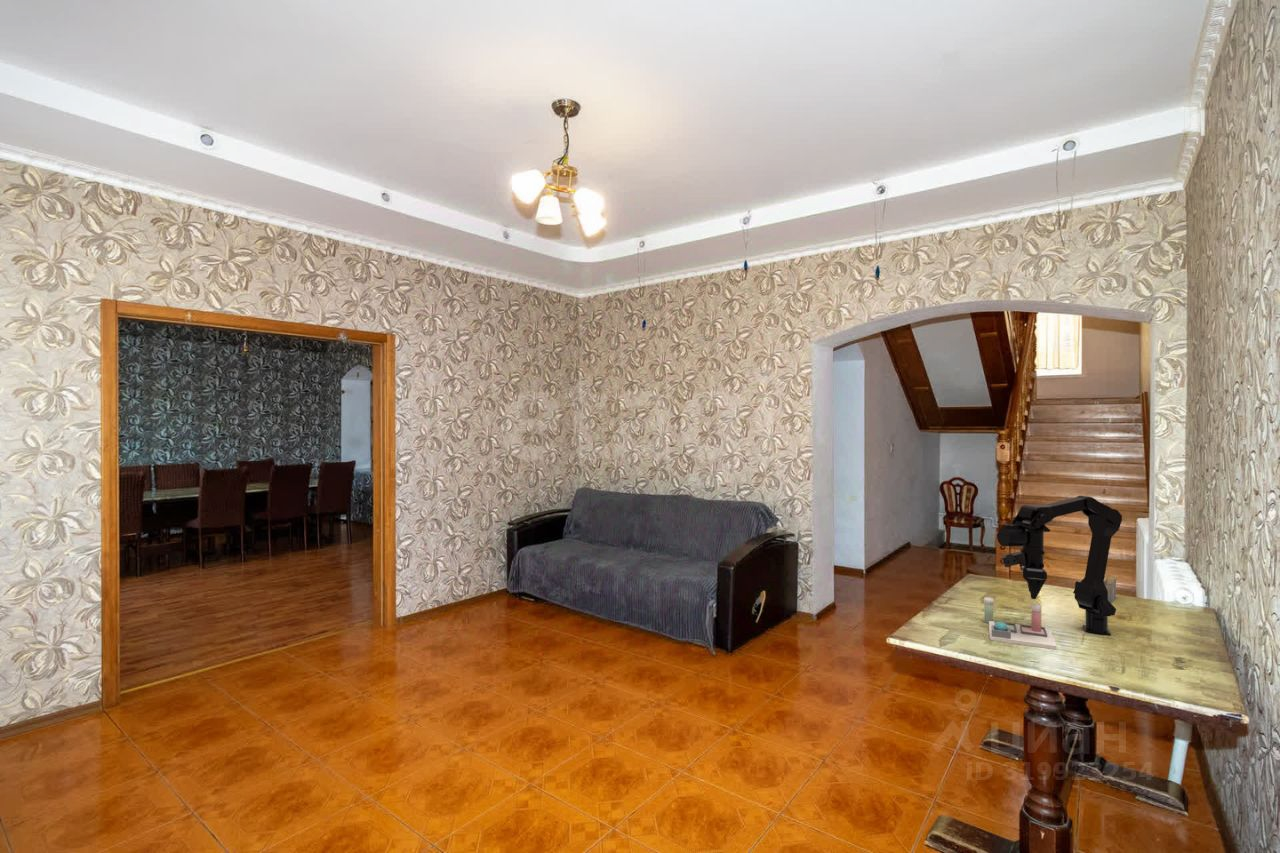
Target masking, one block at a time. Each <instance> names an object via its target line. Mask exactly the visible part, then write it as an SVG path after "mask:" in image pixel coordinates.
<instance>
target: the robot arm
mask: <svg viewBox="0 0 1280 853" xmlns="http://www.w3.org/2000/svg"><path fill="white" fill-rule="evenodd" d="M1078 512H1081V513H1082V514H1083V515H1084V516H1086V517H1087V518H1088V520H1087V524H1088V527H1089V529H1090V531H1091V539H1090V544H1089V545H1090V546H1089V550H1088V556H1087V564H1086V568H1085V573H1084V577H1083V579H1081V580H1080V581H1078V580H1077V581H1075V583H1074V590H1073V592H1072V593H1073V594H1074V600H1075V601H1076V602H1077V605H1078V608H1079V609H1081V610H1085V624H1083V625H1082V628H1083V630H1084V632H1086V633H1091V634H1097V635H1098V634H1100V635H1106V636H1111V635H1112V634H1111V632H1110V629H1109V628H1108V627H1109V626H1108V625H1109V617H1112V616H1115V615H1116V612H1117V608H1116V607H1115V606H1114V605H1113V603H1110V602H1109V601H1108V591H1107V588H1106V586H1105V584H1104V580H1105V578H1106V574H1105V573H1106V572H1107V571H1106V570H1107V565H1108V559H1109V554H1110V553H1109V552H1110V548H1111V543H1112V537H1114V536H1115V534H1117V532H1118V531H1119V530H1120V526H1121V524H1122V520H1123V515H1122V514H1121V513H1120V511H1119V510H1118V509H1115V508H1112V507H1111V506H1109V505H1106V504H1104V503H1102V502H1100V501H1098V500H1097V499H1096V498H1094V497H1092V496H1087V495H1078V496H1076V497H1071V498H1067V499H1063V500H1059V501H1055V502H1051V503H1046V504H1045V503H1044V504H1023V505H1021V507H1020V508H1019V510H1018V513H1017V514H1016V516H1015V517H1014V518H1013V519H1012V521H1011V523H1010V524H1008V523H1007V524H1006V523H1003V524H1001V528H999V529H998V531H997V533H996V539H997V541H998V542H997V543H998V544H999V545H1000V546H1002V547H1020V548H1019V549H1020V551H1017V552H1015V551H1014V552H1012V553H1011V552H1010V553H1006V554H1002V555H1000V556H1001V557H1000V558H1001V560H1002V562H1003V566H1004V568H1010V567H1013V566H1017V565H1019V569H1020V571H1021V574H1022V575H1021V576H1022V579H1023V580H1025V581H1026V583H1027V588H1028V592H1029V594H1030V599H1031V600H1036V599H1037V597H1038V595H1039V593H1040V592H1041V590H1042V588H1043V586H1044V585H1045V583H1046V582H1047V580H1048V572H1047V570H1046V569H1044V568H1045V563H1044V555H1045V548H1044V545H1045V544H1044V543H1045V542H1044V538H1045V537H1044V535H1045V534H1044V533H1051V529H1050V528H1048V527H1047V526H1046V524H1048V523H1050V522H1052V521H1053V519H1055V518H1057V517H1061V516H1065V515H1069V514H1073V513H1078Z"/></svg>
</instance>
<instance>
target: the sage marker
mask: <svg viewBox="0 0 1280 853" xmlns="http://www.w3.org/2000/svg"><path fill="white" fill-rule="evenodd" d="M983 598H984V599H983V600H984V601H983V606H984V610H983V611H984V612H983V613H984V614H983V615H984V620H983V621H984V623H986V624H989V621H993V622H994V598H993V597H990V596H989V597H988V596H987V597H986V596H985V597H983Z"/></svg>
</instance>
